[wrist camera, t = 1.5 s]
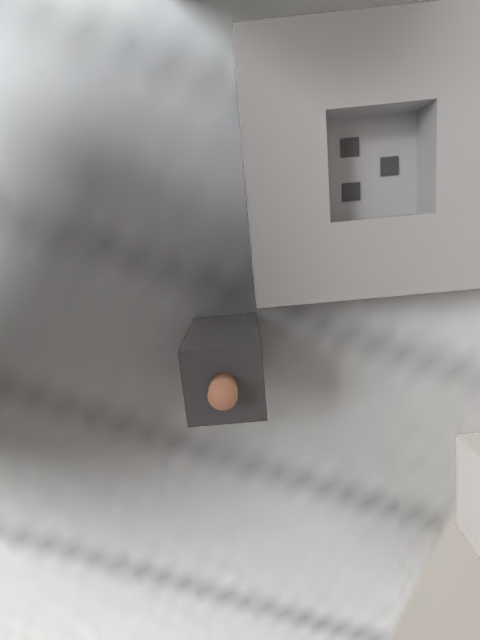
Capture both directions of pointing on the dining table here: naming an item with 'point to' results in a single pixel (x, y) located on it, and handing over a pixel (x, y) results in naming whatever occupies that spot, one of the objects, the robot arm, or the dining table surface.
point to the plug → (223, 371)
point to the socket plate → (361, 151)
